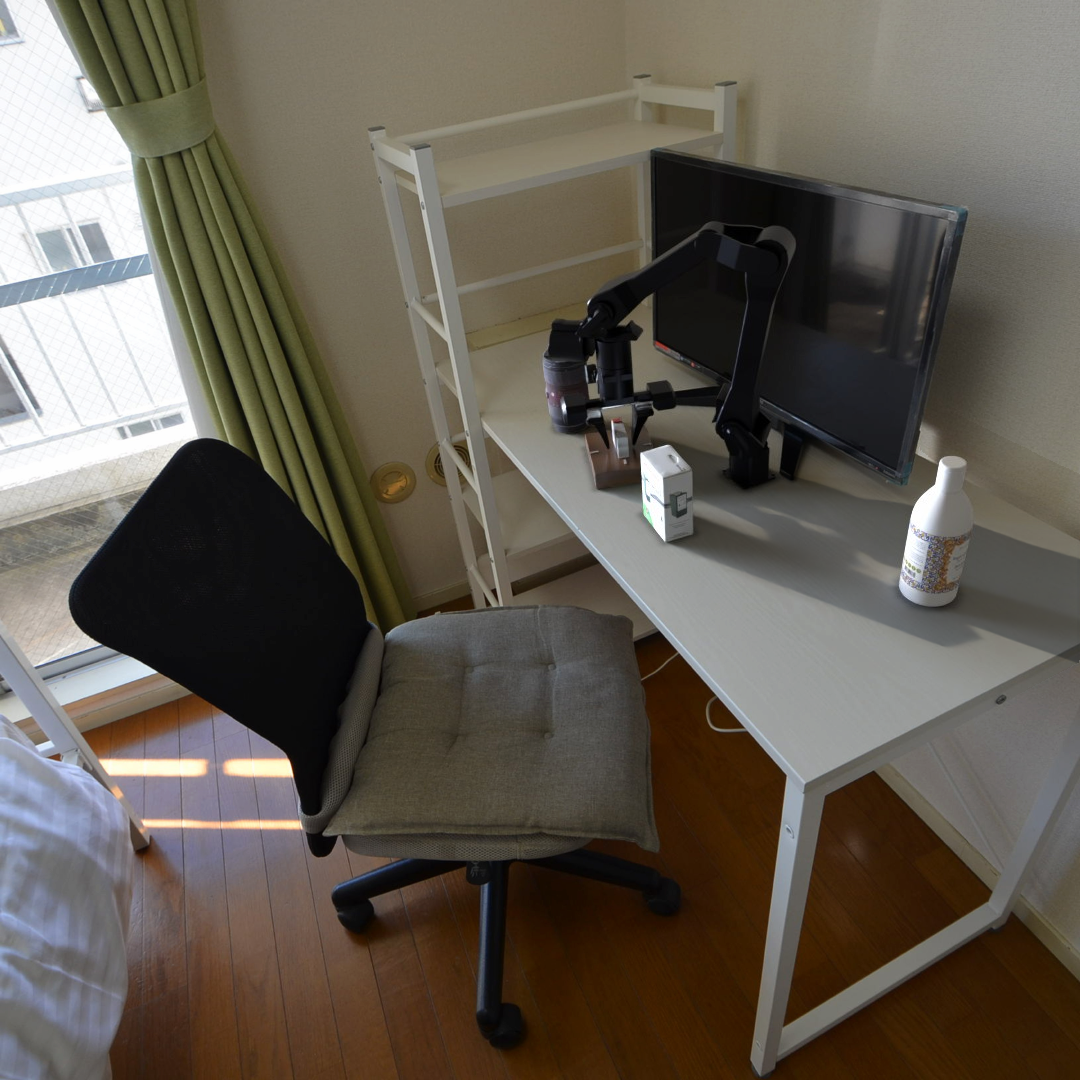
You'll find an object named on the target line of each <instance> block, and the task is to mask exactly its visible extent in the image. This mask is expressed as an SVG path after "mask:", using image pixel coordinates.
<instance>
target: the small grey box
mask: <svg viewBox="0 0 1080 1080" xmlns="http://www.w3.org/2000/svg"><path fill="white" fill-rule="evenodd" d="M610 422H611V430H612V433H613V441H614V445H615V448H616V451H617V454H618V458H625V457H629V448H628V436H627V433H626V430H625V428H626V427H625V425H624V422H623V419H622V418H619V417H618V418H613V419H612V420H611V421H610Z"/></svg>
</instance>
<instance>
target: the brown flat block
mask: <svg viewBox="0 0 1080 1080" xmlns="http://www.w3.org/2000/svg"><path fill="white" fill-rule="evenodd" d="M631 427H632V426H630V427H625V430H626V433H627V436H628V448H629V457H625V458H618V454H617V451H616V448H615V445H614V441H613V433H612V429H611V430H610V429H609V430H607V434H608V439H609V443H610V449H607V447H606V445H605V443H604V441H603V439H602V437H601V435H600V434H599V432H598V431H597V432H591V433H585V434H584V437H585V438H584V440H585V448H586V453H587V456H588V461H589V465H590V469H591V473H592V477H593V480H594V484H595V488H596V490H599V489H601V490H602V489H605V488H606V489H607V488H614V487H621V486H627V485H634V484H642V471H641V452H644V451H647V450H651V449H654V445H653V442H652V440H651V437H650V435H649V432H648V430H647V427H646V425H645V424H644V426H643V427H642V430H641V432H640V434H639V437H638V439H637V442H636V444H635V445H633V444H632V439H631Z"/></svg>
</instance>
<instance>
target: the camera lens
mask: <svg viewBox="0 0 1080 1080" xmlns="http://www.w3.org/2000/svg"><path fill="white" fill-rule="evenodd" d="M585 365H588V361H587V362H585V363H584V362H565V361H552V360H551V359H550V357H549V353H548V348H547V349H545V350H544V352H543V353H542V368H543V369H542V370H543V377H544V382H545V396H546V397H545V398H546V399H547V403H548V405H547V406H548V412H549V415H550V416H549V417H550V420H551V422H552V423H553V426H554V429H555V430H556V431H557V432H559V433H562V434H563V433H564V434H575V433H578V432H581V431H583V430H585V429H586V428H587V427H588V426H589V425H587V423H586V420H585V421H584V422H582V423H576V424H569V425H568V424H565V423H564V419H563V414H562V410H561V402H560V400H561V398H562V397H563V396H564V395H571V394H578V393H583V396H584V399H585V400H589V399H591V398H590V391H589V384H588V383H587V381H586V374H585Z"/></svg>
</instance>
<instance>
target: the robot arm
mask: <svg viewBox="0 0 1080 1080" xmlns="http://www.w3.org/2000/svg"><path fill="white" fill-rule="evenodd" d="M796 248H797V243H796V238H795V237H794V235H793V234H792V232H791V231H790V230H788V228H786V227H784V226H780V225H770V226H768V227H763V226H757V225H752V224H729V223H725V222H720V221H716V220H714V221H709V222H707V223H705V224H704V225H703V226H702V227H701V228H700V229H698V230H697V231H696V232H695V233H693V234H691V235H690V236H688V237H687V238H685V239H683V240H682V241H681V242H679V243H678V244H676V245H675V246H673V247H671V248H670V249H669V250H667V251H665V252H664V253H663V254H661V255H659V256H658V257H657V258H655V259H654V260H652V261H651V262H649V263H647V264H646V265H644V266H643V267H641V268H639V269H637V270H635V271H633V272H628V273H625V274H622V275H619V276H617V277H614V278H612V279H609V280H607V281H605V282H604V283H603V284H602V285H601V286H600V287H599V288H598V290H597V291H596V292H595V293H594V294H593V295H592V296H591V297H590V299H588V301H587V306H586V313H587V315H586V316H585V317H584V318H583V320H577V319H565V318H555V319H554V320H553V321H552V322H551V323H550V328H551V330H550V333H549V338H548V345H547V349H548V353H549V357H550V359H551V360H552V361H565V362H584V363H585V362H587V363H588V361H589V359H590V358H591V357H594V355H595V359H596V361H595V362H596V363H591V364H587V365H585V374H586V381H587V383H588V385H592V384H596V391H597V394H598V395H599V397H597V398H590V399H589V400H585V399H584V396H583V393H578V394H571V395H564V396H563V397H562V398H561V400H560V402H561V410H562V414H563V419H564V423H565V424H568V425H569V424H576V423H582V422H584V421H585V420H586V423H587V425H588V426H593V427H594V428H595V430H596V431H597V432H599V434H600V435H601V437H602V439H603V441H604V443H605V445H606V447H607V449H610V443H609V439H608V434H607V431H608V430H607V425H606V422H605V418H604V415H603V412H602V411H603V410H608V409H614V408H621V407H622V408H623V407H627V406H631V426H630V427H631V439H632V444H633V445H635V444H636V442H637V439H638V437H639V434H640V432H641V430H642V427H643V426H644V425H645V424H646V423H647V421H648V419H649V418H650V417H653V416H654V415H655V411H654V410H656V411H658V412H661V411H666V410H674V409H675V408H677V395H676V392H675V390H674V388H673V386H672V384H671V382H670V381H669V380H667V379H664V380H657V381H651V382H646V383H645V384H646V385H645V389H639V390H635V389H634V388H635V384H634V370H633V355H632V342H637V341H638V339H640V337H641V336H642V335H643V333H644V328H643V327H641V326H640V325H638V324H637V323H636V322H635V321H634V320H633V319H631V320H629V321H628V323H626V324H620V323H621V322H623V321H624V319H627V317H628V316H629V315H630V314H631V313H632V312H633V311H634V310H635V309H636V308H637V307H638V306H639V305H640V304H641V303H642V302H643V301H644V300H646V299H647V298H648V297H649V296H651V295H653V294H654V293H656V292H658V291H659V290H661V289H662V288H664V287H665V286H667V285H669V284H670V283H672V282H673V281H675V280H677V279H679V278H680V277H681V276H683V275H685V274H687V273H688V272H689V271H691V270H693V269H694V268H696V267H697V266H699V265H700V264H702V263H704V262H706V261H707V260H712V261H715V262H719V263H720V264H721V265H724V266H726V267H728V268H730V269H732V270H734V271H738V272H742V273H744V285H745V291H746V305H745V311H744V315H743V322H742V327H741V332H740V336H739V342H738V347H737V353H736V358H735V364H734V368H733V375H732V380H731V384H730V383H727V382H724V383H723V384H722V387H721V389H720V391H719V392H718V395H717V397H716V399H715V414H713V415H714V416H713V417H712V420H711V424H714V430H715V434H716V435H718V436H719V438H720V439H721V440H722V441H724V444H725V446H726V449H727V452H728V466H729V467H727V468H724V469H722V470H721V475H722V476H724V477H726V478H727V479H728V480H729V481H731V482H732V484H735V485H736V486H737V487H739V488H740V489H742V490H744V491H746V490H749V489H752V488H754V487H757V486H759V485H763V484H765V483H767V482H770V481H773V480H775V479H776V478H777V474H776V473H774V472H773V471H772V470H770V453H771V452H770V449H771V448H770V447H769V442H768V438H769V437H770V433H771V430H772V427H773V424H774V422H773V420H772V419H771V418H769V416H768V415H767V414H766V413H764V411H762V409H761V407H760V406H761V405H760V404H761V393H760V392H761V391H760V385H759V379H760V373H761V370H762V364H763V359H764V355H765V351H766V346H767V341H768V337H769V331H770V327H771V323H772V318H773V314H774V313H773V312H774V308H775V303H776V300H777V299H776V298H777V296H778V293H779V290H780V288H781V285H782V283H783V281H784V279H785V276H786V274H787V271H788V269H789V267H790V264H791V261H792V259H793V257H794V255H795V252H796Z"/></svg>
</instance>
